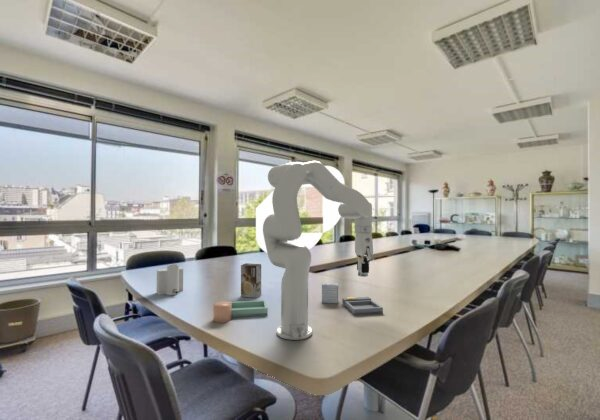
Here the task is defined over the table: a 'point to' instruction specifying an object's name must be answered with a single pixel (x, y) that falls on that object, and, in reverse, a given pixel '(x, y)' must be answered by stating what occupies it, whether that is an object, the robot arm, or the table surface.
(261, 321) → the table surface
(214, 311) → the peach rounded dome
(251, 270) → the coffee box
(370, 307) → the cradle
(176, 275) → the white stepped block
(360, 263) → the cell
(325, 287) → the medicine box
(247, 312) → the green trapezoid tray
